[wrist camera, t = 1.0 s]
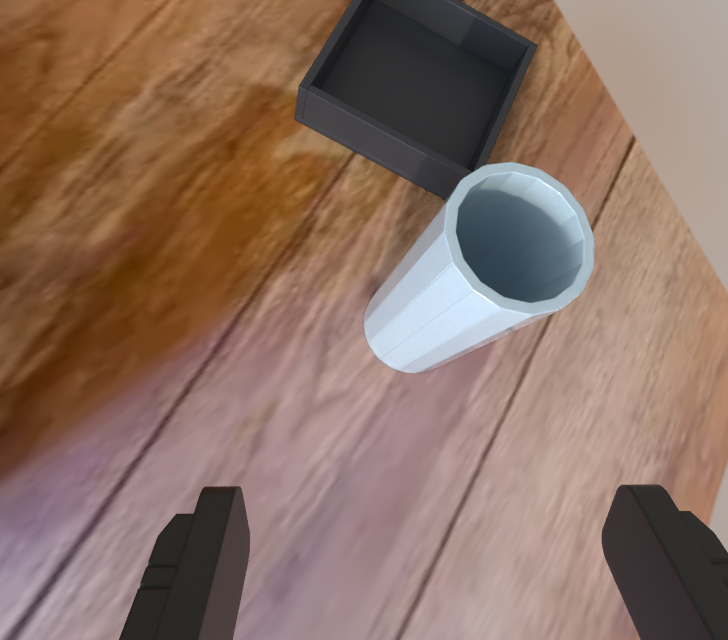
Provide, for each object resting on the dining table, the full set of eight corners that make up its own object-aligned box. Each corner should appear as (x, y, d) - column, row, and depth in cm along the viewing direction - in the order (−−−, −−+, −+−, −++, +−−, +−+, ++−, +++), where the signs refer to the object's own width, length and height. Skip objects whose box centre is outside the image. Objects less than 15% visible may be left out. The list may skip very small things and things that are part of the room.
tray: (293, 119, 37) (298, 86, 33) (369, -5, 41) (379, -46, 37) (457, 206, 38) (478, 183, 34) (515, 77, 42) (538, 44, 39)
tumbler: (344, 312, 34) (412, 208, 20) (418, 263, 36) (528, 137, 22) (402, 392, 33) (514, 346, 19) (473, 338, 35) (624, 259, 21)
